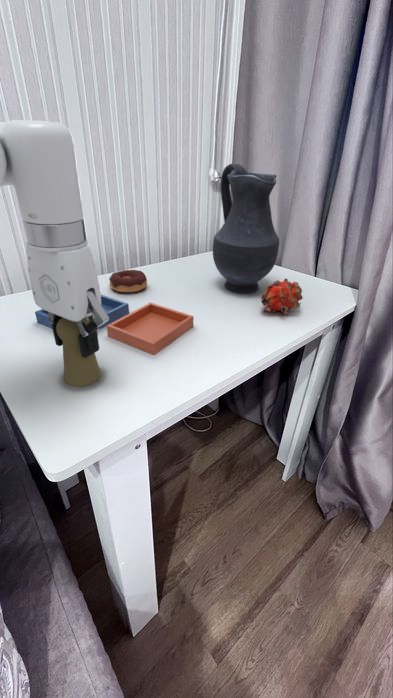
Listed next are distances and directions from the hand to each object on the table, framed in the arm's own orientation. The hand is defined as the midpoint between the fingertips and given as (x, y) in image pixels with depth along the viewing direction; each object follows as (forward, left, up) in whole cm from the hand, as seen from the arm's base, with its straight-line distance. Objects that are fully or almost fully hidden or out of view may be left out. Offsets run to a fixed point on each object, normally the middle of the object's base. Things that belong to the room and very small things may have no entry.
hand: (77, 346), depth 54 cm
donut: (+34, +20, -6) cm, 40 cm away
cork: (0, 0, -6) cm, 6 cm away
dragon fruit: (+45, -19, -6) cm, 49 cm away
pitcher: (+54, -3, -6) cm, 54 cm away
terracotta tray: (+19, 0, -6) cm, 20 cm away
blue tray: (+15, +16, -6) cm, 23 cm away
